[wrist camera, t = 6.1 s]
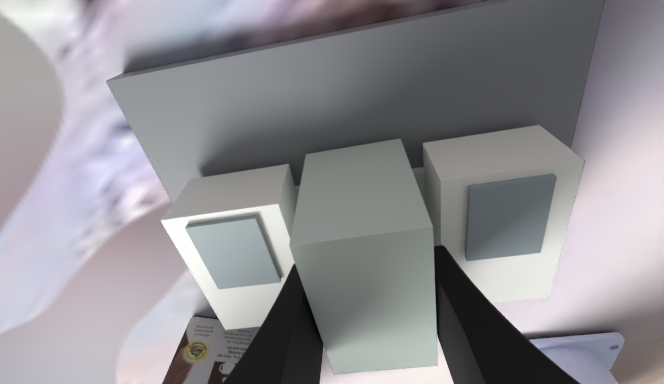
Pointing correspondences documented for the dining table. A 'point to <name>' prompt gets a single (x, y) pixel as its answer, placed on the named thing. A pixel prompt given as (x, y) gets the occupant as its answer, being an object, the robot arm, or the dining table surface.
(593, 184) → the dining table surface
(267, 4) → the dining table surface
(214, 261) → the board
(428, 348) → the block
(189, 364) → the coffee box
